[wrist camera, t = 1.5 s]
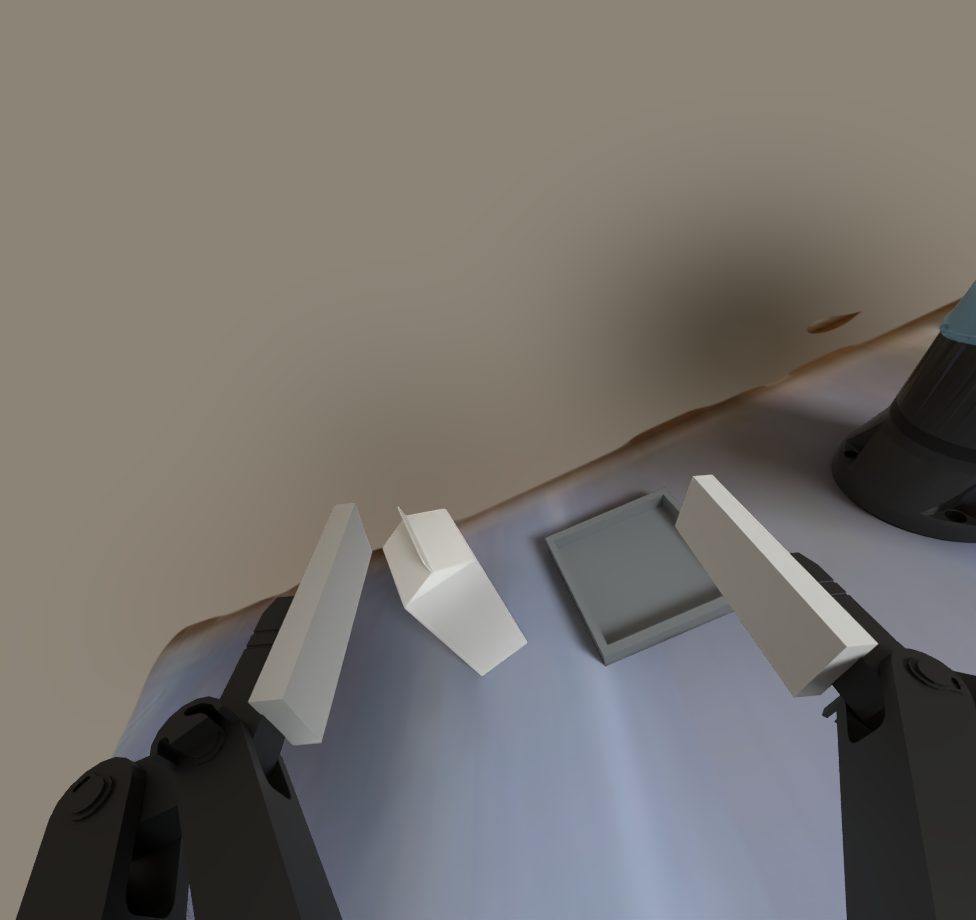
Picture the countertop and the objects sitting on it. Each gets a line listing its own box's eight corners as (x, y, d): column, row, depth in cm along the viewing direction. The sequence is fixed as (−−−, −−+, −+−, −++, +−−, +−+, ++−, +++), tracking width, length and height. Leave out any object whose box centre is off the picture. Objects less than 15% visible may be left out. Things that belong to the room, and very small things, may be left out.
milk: (501, 598, 42) (432, 482, 27) (528, 644, 38) (465, 535, 23) (457, 628, 41) (361, 524, 26) (481, 679, 37) (381, 588, 22)
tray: (663, 501, 45) (665, 487, 43) (753, 602, 35) (761, 589, 33) (548, 550, 45) (545, 537, 43) (605, 666, 34) (604, 657, 32)
